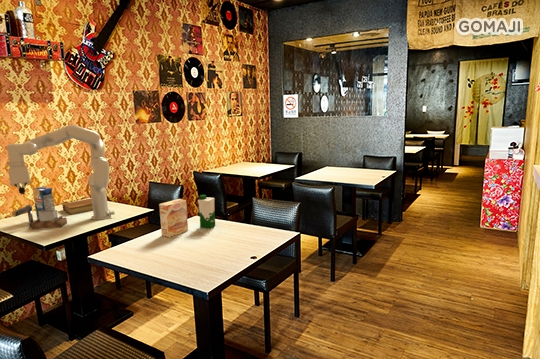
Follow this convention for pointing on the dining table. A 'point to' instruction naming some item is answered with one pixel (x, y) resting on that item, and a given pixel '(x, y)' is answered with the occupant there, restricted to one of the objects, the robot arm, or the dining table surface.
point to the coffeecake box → (173, 217)
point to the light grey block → (48, 215)
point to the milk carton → (206, 212)
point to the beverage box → (43, 199)
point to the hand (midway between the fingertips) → (22, 193)
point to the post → (30, 218)
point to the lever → (22, 210)
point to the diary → (78, 206)
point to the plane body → (49, 223)
